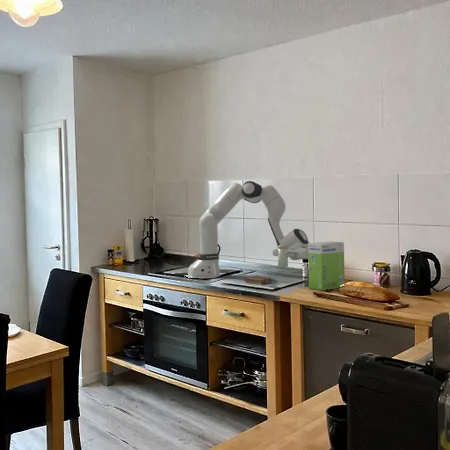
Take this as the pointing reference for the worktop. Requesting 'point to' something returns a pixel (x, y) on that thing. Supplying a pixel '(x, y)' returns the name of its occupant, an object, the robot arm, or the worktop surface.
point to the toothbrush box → (326, 265)
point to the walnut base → (258, 280)
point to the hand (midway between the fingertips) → (281, 254)
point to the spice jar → (282, 256)
